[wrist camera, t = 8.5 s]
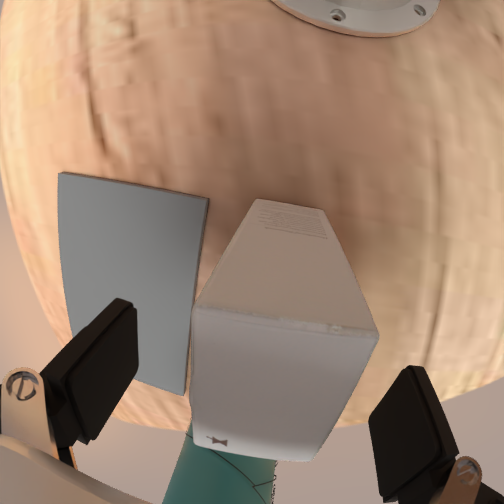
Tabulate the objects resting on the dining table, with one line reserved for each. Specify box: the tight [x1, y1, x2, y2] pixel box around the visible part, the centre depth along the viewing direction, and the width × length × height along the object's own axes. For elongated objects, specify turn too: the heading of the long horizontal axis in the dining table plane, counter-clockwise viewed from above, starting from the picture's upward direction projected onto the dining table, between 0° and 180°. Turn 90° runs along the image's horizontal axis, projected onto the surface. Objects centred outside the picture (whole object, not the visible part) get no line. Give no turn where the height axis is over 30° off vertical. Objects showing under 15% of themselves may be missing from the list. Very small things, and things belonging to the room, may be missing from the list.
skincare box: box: [189, 199, 379, 462], centre depth 12 cm, size 6×4×12 cm
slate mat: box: [58, 172, 209, 396], centre depth 20 cm, size 18×12×1 cm, turn 168°
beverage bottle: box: [162, 417, 277, 504], centre depth 13 cm, size 6×7×20 cm
